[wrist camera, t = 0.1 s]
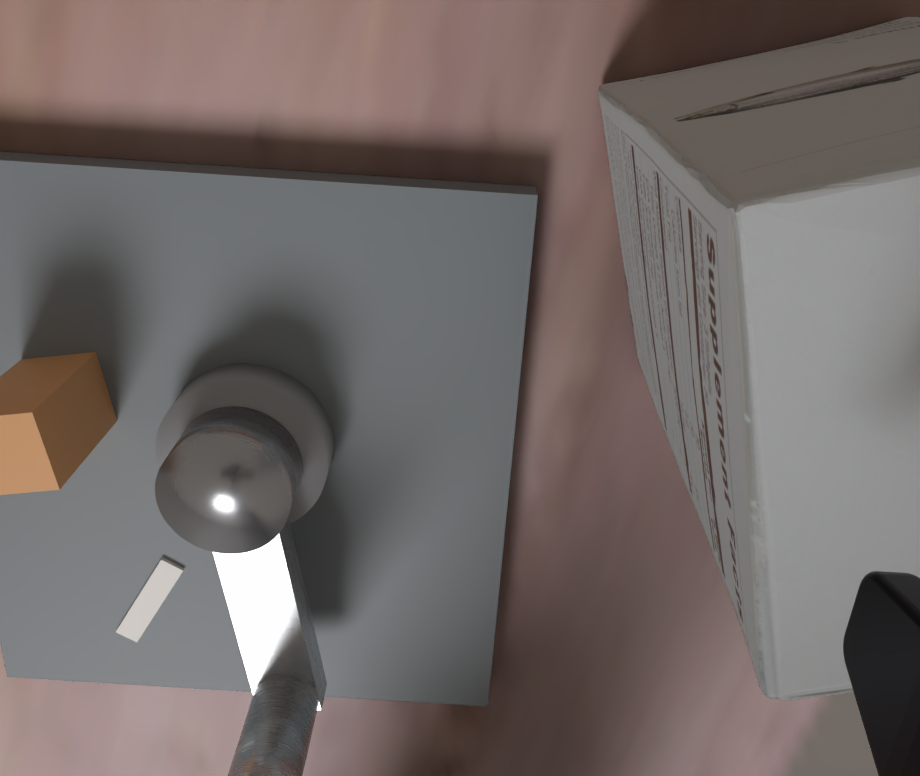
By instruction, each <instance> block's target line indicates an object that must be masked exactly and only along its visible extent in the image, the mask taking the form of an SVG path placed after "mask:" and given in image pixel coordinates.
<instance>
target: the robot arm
mask: <svg viewBox="0 0 920 776" xmlns="http://www.w3.org/2000/svg"><path fill="white" fill-rule="evenodd" d="M843 654H844V660H845V664H846V668H847V671H848V674H849V678H850V681H851V684H852V688H853V691H854V695H855V698H856V701H857V705H858V708H859V711H860V715H861V718H862V721H863V725H864V728H865V731H866V734H867V738H868V741H869V745H870V748H871V751H872V755H873V758H874V762H875V765H876V768H877V772H878V775H879V776H920V578H919V577H917V576H915V575H913V574H910V573H903V572H884V571H872V572H870V573H868V574H866V575H865V576H864V578H863V579H862V581H861V583H860V585H859V589H858V592H857V595H856V598H855V602H854V605H853V608H852V612H851V615H850V618H849V621H848V625H847V628H846V631H845V635H844V641H843Z"/></svg>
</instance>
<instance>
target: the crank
mask: <svg viewBox="0 0 920 776" xmlns="http://www.w3.org/2000/svg"><path fill="white" fill-rule="evenodd" d="M302 474H303V461H302V456H301V452H300V449H299V447H298V445H297V443H296V441H295V439H294V438H293V436H292V435H291V434H290V433H289V431H288V430H287V429H286V428H285V427H284V426H283V425H282V424H280V423H279V422H278V421H277V420H275V419H274V418H272V417H270V416H269V415H267V414H265V413H262V412H260V411H257V410H254V409H251V408H246V407H237V406H229V407H220V408H216V409H213V410H210V411H207V412H205V413H203V414H201V415H200V416H198V417H197V418H195V419H194V420H193V421H192V422H191V423H190V424H189V425H188V426H187V427H186V429H185V430H184V432H183V433H182V435H181V436H180V438H179V439H178V441H177V442H176V444H175V445H174V447H173V448H172V450H171V451H170V453H169V454H168V456H167V457H166V459H165V460H164V462H163V464H162V465H161V467H160V469H159V471H158V473H157V477H156V481H155V497H156V502H157V505H158V508H159V511H160V513H161V515H162V516H163V518H164V520H165V521H166V522H167V524H168V525H169V526H170V527H171V528H172V530H173V531H174V532H175V533H177V534H178V535H179V536H180V537H181V538H183V539H184V540H186V541H187V542H189V543H191V544H193V545H194V546H197V547H199V548H201V549H204V550H207V551H211V552H213V554H214V558H215V562H216V565H217V569H218V572H219V576H220V579H221V583H222V586H223V590H224V594H225V597H226V601H227V604H228V608H229V611H230V615H231V619H232V622H233V626H234V629H235V633H236V636H237V640H238V643H239V647H240V651H241V654H242V658H243V661H244V665H245V668H246V672H247V675H248V679H249V683H250V686H251V690H252V693H253V698H252V701H251V704H250V707H249V711H248V714H247V717H246V720H245V723H244V726H243V729H242V732H241V736H240V739H239V742H238V745H237V748H236V751H235V754H234V757H233V761H232V764H231V767H230V770H229V773H228V776H302V775H303V771H304V766H305V762H306V757H307V753H308V749H309V744H310V740H311V735H312V731H313V726H314V722H315V717H316V713H317V710H322V705H323V701H324V696H325V692H326V687H327V681H326V677H325V673H324V668H323V664H322V660H321V655H320V651H319V647H318V643H317V638H316V634H315V630H314V625H313V621H312V617H311V613H310V608H309V604H308V600H307V595H306V591H305V587H304V582H303V578H302V574H301V570H300V565H299V561H298V557H297V552H296V548H295V544H294V539H293V535H292V531H291V527H290V522H289V518H288V516H289V513H290V510H291V507H292V505H293V502H294V499H295V496H296V493H297V491H298V488H299V485H300V482H301V479H302Z"/></svg>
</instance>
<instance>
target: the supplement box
mask: <svg viewBox="0 0 920 776" xmlns="http://www.w3.org/2000/svg"><path fill="white" fill-rule="evenodd" d="M598 96H599V101H600V106H601V112H602V119H603V126H604V132H605V139H606V145H607V152H608V159H609V166H610V174H611V181H612V188H613V195H614V202H615V209H616V216H617V223H618V230H619V237H620V244H621V251H622V258H623V265H624V272H625V278H626V285H627V292H628V299H629V305H630V312H631V319H632V326H633V333H634V339H635V345H636V351H637V356H638V361H639V363H640V366H641V369H642V371H643V374H644V377H645V379H646V382H647V385H648V387H649V390H650V394H651V397H652V400H653V402H654V405H655V408H656V411H657V413H658V416H659V418H660V421H661V423H662V426H663V428H664V431H665V434H666V436H667V439H668V441H669V444H670V447H671V449H672V452H673V454H674V457H675V459H676V462H677V464H678V467H679V469H680V472H681V475H682V477H683V480H684V482H685V485H686V487H687V490H688V492H689V494H690V497H691V499H692V502H693V504H694V506H695V509H696V511H697V514H698V516H699V518H700V521H701V523H702V526H703V529H704V531H705V534H706V537H707V539H708V542H709V544H710V547H711V550H712V552H713V555H714V558H715V560H716V563H717V565H718V568H719V570H720V573H721V575H722V578H723V580H724V583H725V585H726V588H727V590H728V593H729V596H730V598H731V601H732V604H733V606H734V609H735V611H736V614H737V617H738V620H739V623H740V626H741V629H742V632H743V635H744V637H745V641H746V644H747V647H748V650H749V653H750V656H751V660H752V663H753V667H754V670H755V674H756V677H757V680H758V684H759V687H760V688H761V690H762V692H763V693H764V694H765V695H766V696H767V697H768V698H770V699H779V700H800V699H805V698H810V697H818V696H826V695H834V694H841V693H847V692H853V688H852V684H851V681H850V678H849V674H848V671H847V668H846V664H845V660H844V654H843V641H844V635H845V631H846V628H847V625H848V621H849V618H850V615H851V612H852V608H853V605H854V602H855V598H856V595H857V592H858V589H859V585H860V583H861V581H862V579H863V578H864V576H865V575H866V574H868V573H870V572H872V571H884V572H903V573H910V574H913V575H915V576H917V577H919V578H920V17H904V18H901V19H897V20H893V21H890V22H886V23H883V24H879V25H875V26H872V27H868V28H864V29H861V30H857V31H853V32H849V33H845V34H842V35H838V36H834V37H830V38H826V39H822V40H818V41H814V42H809V43H805V44H800V45H796V46H791V47H787V48H782V49H778V50H773V51H769V52H764V53H760V54H755V55H751V56H746V57H741V58H736V59H731V60H727V61H722V62H717V63H712V64H707V65H703V66H698V67H693V68H689V69H684V70H679V71H673V72H668V73H663V74H658V75H652V76H647V77H641V78H636V79H630V80H624V81H618V82H613V83H607V84H602V85H601V86H599V89H598Z"/></svg>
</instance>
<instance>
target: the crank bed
mask: <svg viewBox="0 0 920 776" xmlns="http://www.w3.org/2000/svg"><path fill="white" fill-rule="evenodd" d="M537 200H538V194H537V190H536V186H521V185H506V184H491V183H475V182H460V181H445V180H429V179H414V178H399V177H383V176H368V175H353V174H337V173H322V172H307V171H291V170H276V169H261V168H245V167H230V166H215V165H199V164H184V163H169V162H153V161H138V160H123V159H107V158H92V157H77V156H61V155H46V154H31V153H15V152H0V644H1V649H2V654H3V659H4V663H5V668H6V673H7V677H15V678H32V679H48V680H64V681H81V682H97V683H113V684H129V685H146V686H162V687H178V688H194V689H211V690H227V691H243V692H252V690H251V686H250V683H249V679H248V675H247V672H246V668H245V665H244V661H243V658H242V654H241V651H240V647H239V643H238V640H237V636H236V633H235V629H234V626H233V622H232V619H231V615H230V611H229V608H228V604H227V601H226V597H225V594H224V590H223V586H222V583H221V579H220V576H219V572H218V569H217V565H216V562H215V558H214V554H213V552H211V551H207V550H204V549H201V548H199V547H197V546H194V545H193V544H191V543H189V542H187V541H186V540H184V539H183V538H181V537H180V536H179V535H178V534H177V533H175V532H174V531H173V530H172V528H171V527H170V526H169V525H168V524H167V522H166V521H165V520H164V518H163V516H162V515H161V513H160V511H159V508H158V505H157V502H156V497H155V481H156V477H157V473H158V471H159V469H160V467H161V465H162V464H163V462H164V460H165V459H166V457H167V456H168V454H169V453H170V451H171V450H172V448H173V447H174V445H175V444H176V442H177V441H178V439H179V438H180V436H181V435H182V433H183V432H184V430H185V429H186V427H187V426H188V425H189V424H190V423H191V422H192V421H193V420H194V419H195V418H197V417H198V416H200V415H201V414H203V413H205V412H207V411H210V410H213V409H216V408H220V407H229V406H237V407H246V408H251V409H254V410H257V411H260V412H262V413H265V414H267V415H269V416H270V417H272V418H274V419H275V420H277V421H278V422H279V423H280V424H282V425H283V426H284V427H285V428H286V429H287V430H288V431H289V433H290V434H291V435H292V436H293V438H294V439H295V441H296V443H297V445H298V447H299V449H300V452H301V456H302V461H303V474H302V479H301V482H300V485H299V488H298V491H297V493H296V496H295V499H294V502H293V505H292V507H291V510H290V513H289V516H288V518H289V522H290V527H291V531H292V535H293V539H294V544H295V548H296V552H297V557H298V561H299V565H300V570H301V574H302V578H303V582H304V587H305V591H306V595H307V600H308V604H309V608H310V613H311V617H312V621H313V625H314V630H315V634H316V638H317V643H318V647H319V651H320V655H321V660H322V664H323V668H324V673H325V677H326V681H327V687H326V692H325V697H341V698H357V699H373V700H390V701H406V702H422V703H439V704H455V705H471V706H487V707H488V699H489V689H490V679H491V669H492V659H493V648H494V638H495V628H496V618H497V608H498V597H499V587H500V577H501V567H502V557H503V546H504V536H505V526H506V516H507V506H508V495H509V485H510V475H511V465H512V455H513V444H514V434H515V424H516V414H517V404H518V394H519V383H520V373H521V363H522V353H523V343H524V332H525V322H526V312H527V302H528V292H529V281H530V271H531V261H532V251H533V241H534V230H535V220H536V210H537Z"/></svg>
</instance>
